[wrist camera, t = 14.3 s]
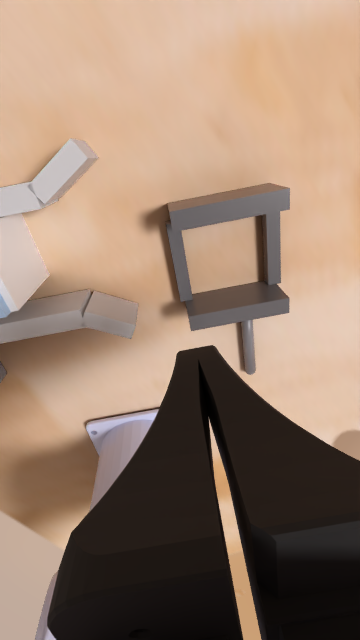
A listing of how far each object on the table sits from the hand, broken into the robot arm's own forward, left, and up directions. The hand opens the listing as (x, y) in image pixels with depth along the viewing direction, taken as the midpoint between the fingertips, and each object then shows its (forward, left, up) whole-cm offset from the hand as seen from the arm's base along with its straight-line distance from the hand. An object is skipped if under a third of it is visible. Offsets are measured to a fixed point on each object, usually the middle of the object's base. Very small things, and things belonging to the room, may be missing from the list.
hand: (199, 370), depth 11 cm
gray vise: (-2, -3, -10) cm, 11 cm away
